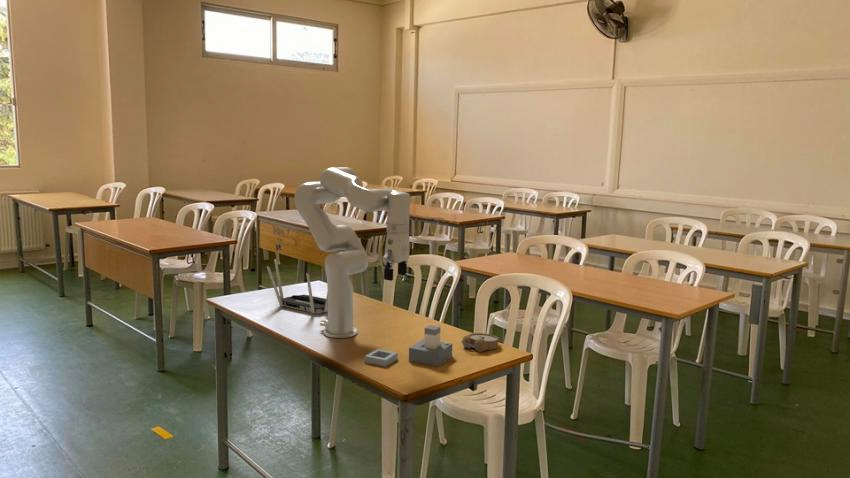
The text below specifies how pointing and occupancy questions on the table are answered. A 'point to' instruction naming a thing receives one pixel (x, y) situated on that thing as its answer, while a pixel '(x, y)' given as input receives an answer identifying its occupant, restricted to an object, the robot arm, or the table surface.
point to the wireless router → (299, 297)
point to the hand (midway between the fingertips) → (395, 277)
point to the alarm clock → (480, 341)
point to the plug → (432, 337)
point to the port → (430, 353)
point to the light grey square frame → (381, 357)
